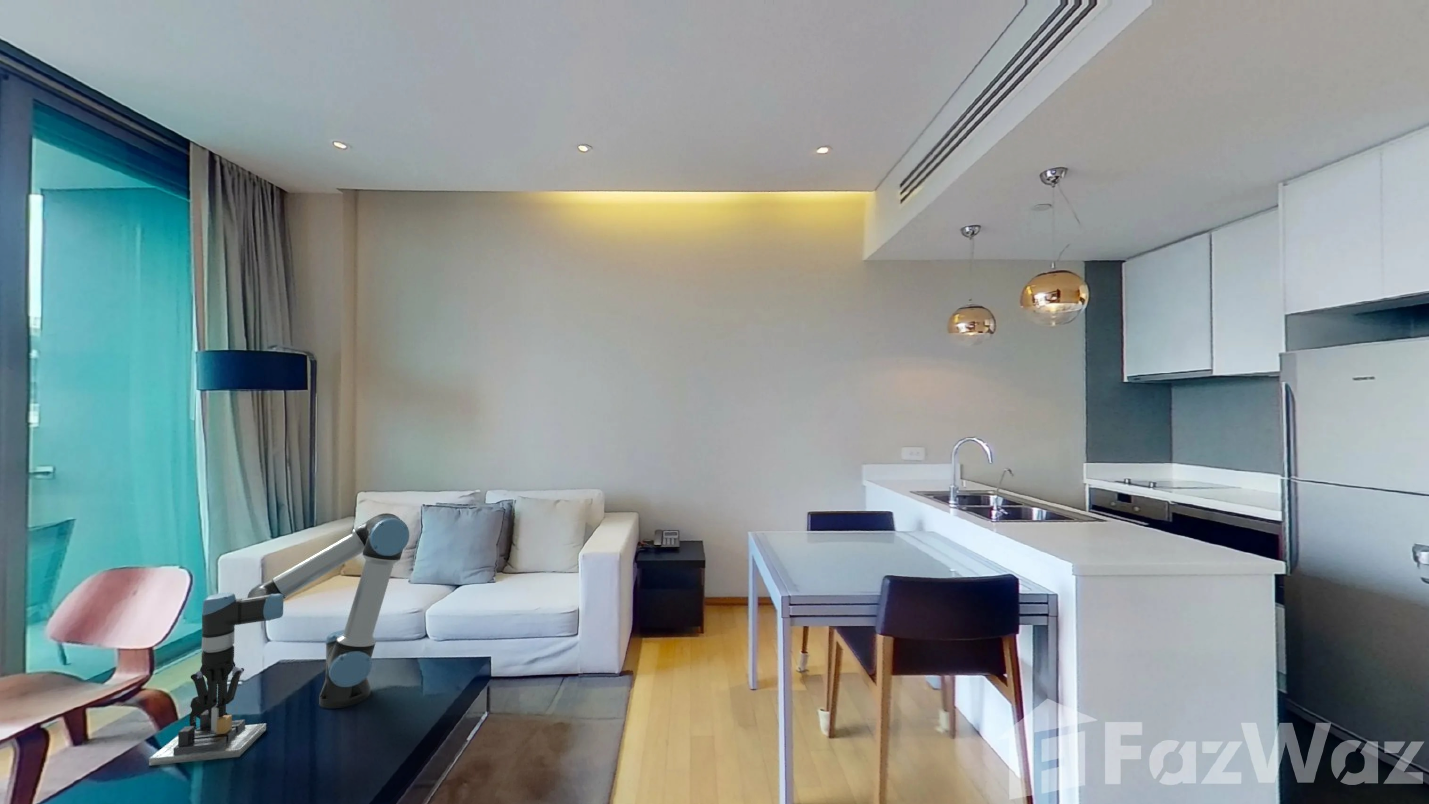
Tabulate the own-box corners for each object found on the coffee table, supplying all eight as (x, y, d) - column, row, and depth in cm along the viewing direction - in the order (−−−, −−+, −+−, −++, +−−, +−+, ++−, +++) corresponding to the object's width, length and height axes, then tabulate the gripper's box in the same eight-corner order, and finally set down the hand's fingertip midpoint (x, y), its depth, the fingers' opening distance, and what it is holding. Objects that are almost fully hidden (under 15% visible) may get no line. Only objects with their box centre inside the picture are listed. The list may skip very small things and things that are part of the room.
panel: (265, 729, 189) (266, 703, 189) (239, 756, 174) (239, 728, 174) (183, 737, 184) (184, 710, 184) (149, 765, 169) (149, 736, 169)
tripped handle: (231, 728, 181) (231, 714, 181) (225, 733, 178) (226, 719, 179) (222, 728, 181) (222, 715, 181) (216, 734, 178) (216, 720, 178)
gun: (217, 750, 187) (229, 722, 186) (180, 721, 190) (192, 693, 189) (226, 745, 190) (238, 718, 189) (189, 716, 193) (201, 689, 192)
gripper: (250, 641, 185) (248, 719, 184) (200, 644, 182) (199, 723, 182) (236, 650, 177) (234, 732, 177) (184, 654, 175) (183, 736, 174)
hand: (216, 727), depth 179 cm, fingers closed
